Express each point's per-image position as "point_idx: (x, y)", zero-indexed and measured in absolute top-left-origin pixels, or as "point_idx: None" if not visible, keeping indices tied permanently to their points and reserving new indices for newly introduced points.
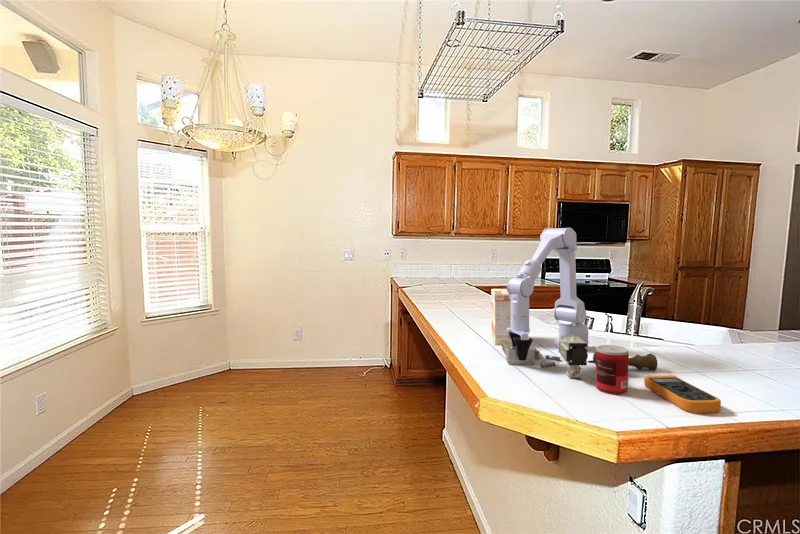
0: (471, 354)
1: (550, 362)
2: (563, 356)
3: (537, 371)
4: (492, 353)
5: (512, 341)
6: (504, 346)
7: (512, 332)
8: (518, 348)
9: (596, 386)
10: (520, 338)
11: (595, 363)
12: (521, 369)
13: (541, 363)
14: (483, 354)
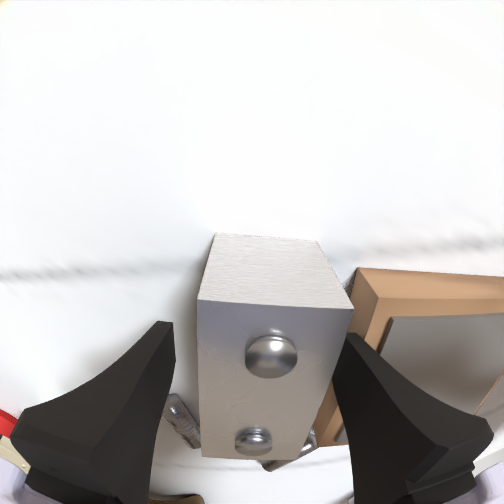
0: (485, 48)
1: (185, 437)
2: (24, 462)
3: (94, 353)
4: (489, 195)
5: (387, 398)
6: (499, 296)
7: (450, 467)
8: (94, 384)
9: (4, 415)
10: (60, 483)
11: (191, 500)
12: (112, 288)
13: (170, 407)
14: (483, 124)
